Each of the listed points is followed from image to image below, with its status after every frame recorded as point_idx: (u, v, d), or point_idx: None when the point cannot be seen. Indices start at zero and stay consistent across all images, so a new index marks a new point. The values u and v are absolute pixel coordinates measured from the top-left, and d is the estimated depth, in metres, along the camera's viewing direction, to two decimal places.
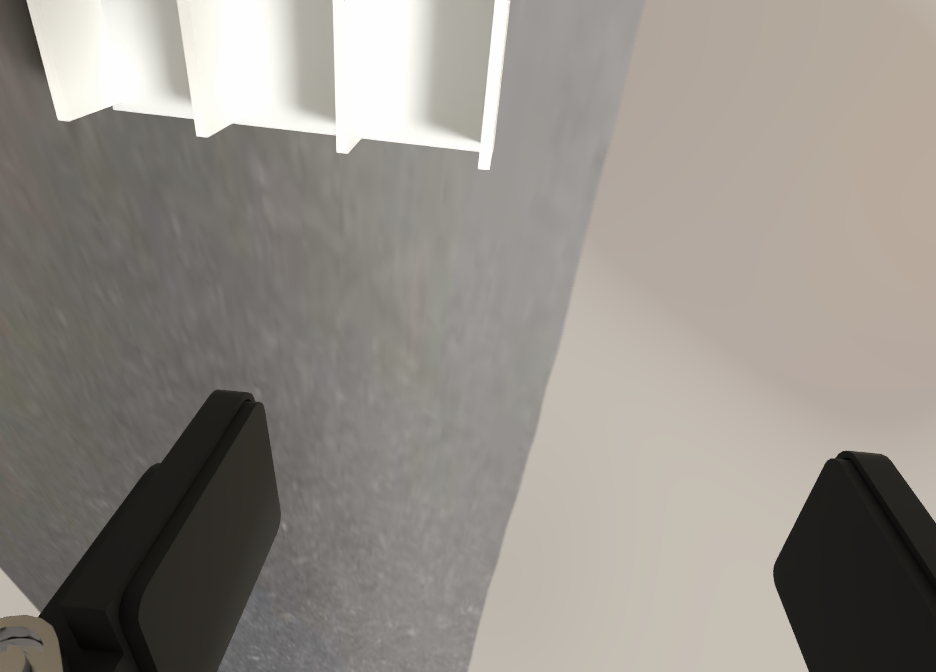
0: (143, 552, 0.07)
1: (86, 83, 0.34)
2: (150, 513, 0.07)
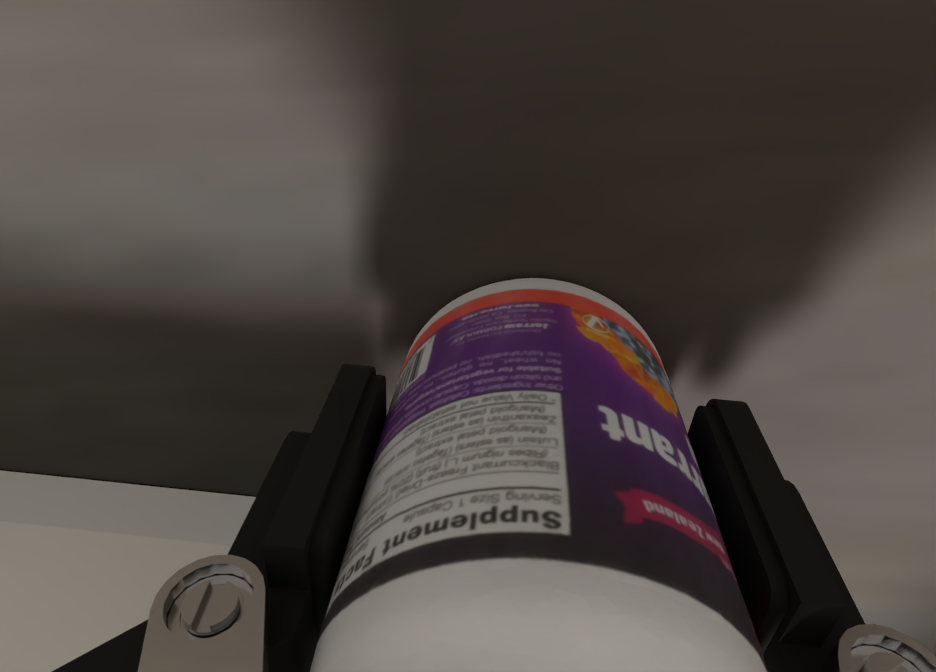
0: (320, 501, 0.08)
1: None
2: (318, 468, 0.08)
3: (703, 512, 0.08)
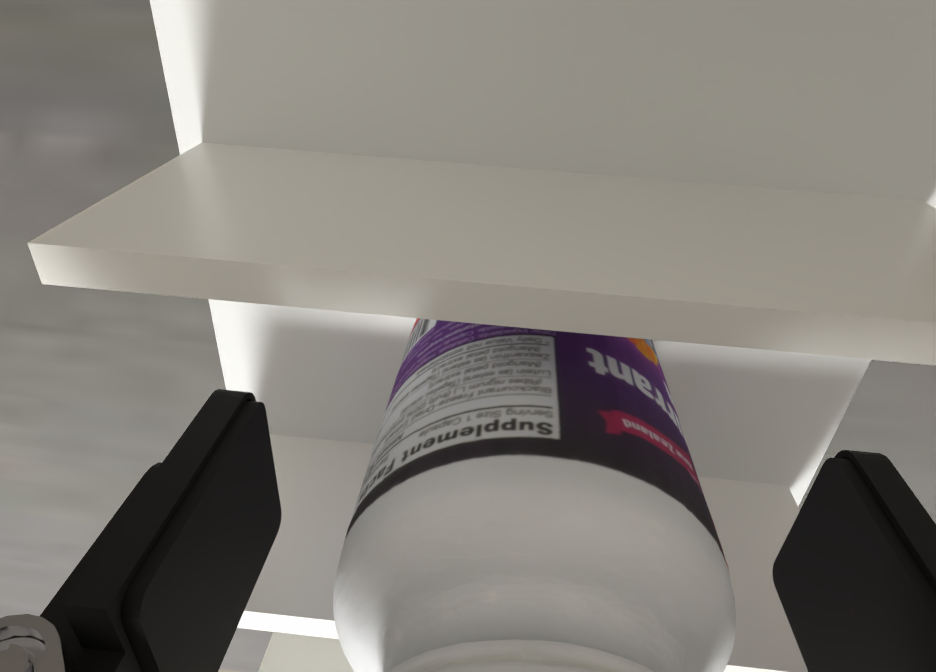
0: (144, 553, 0.07)
1: None
2: (152, 513, 0.07)
3: (675, 436, 0.09)
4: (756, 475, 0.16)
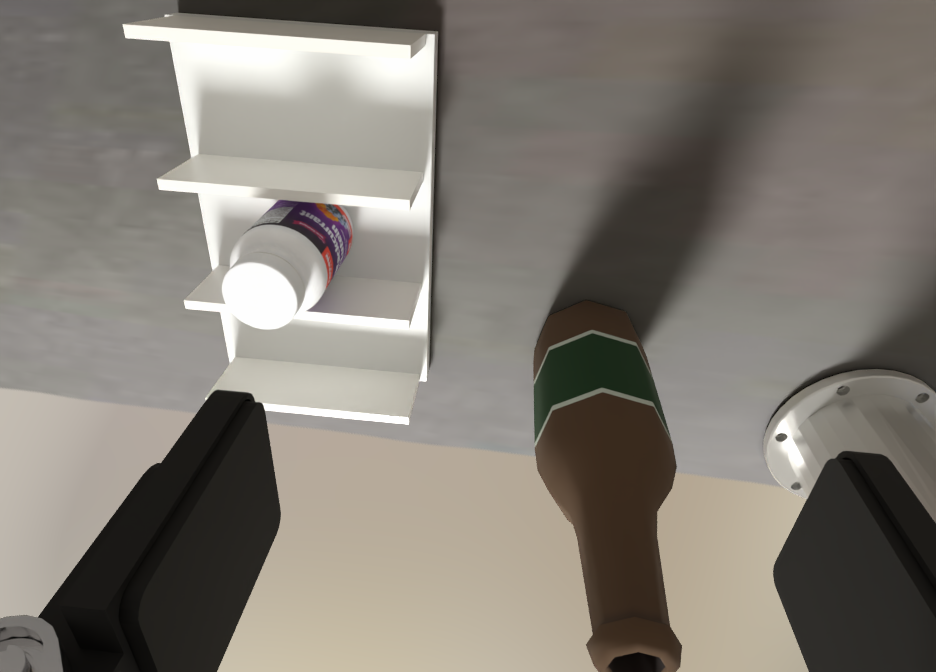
0: (141, 553, 0.07)
1: None
2: (150, 513, 0.07)
3: (320, 231, 0.34)
4: (408, 278, 0.41)
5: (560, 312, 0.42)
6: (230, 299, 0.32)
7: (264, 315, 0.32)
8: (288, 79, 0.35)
